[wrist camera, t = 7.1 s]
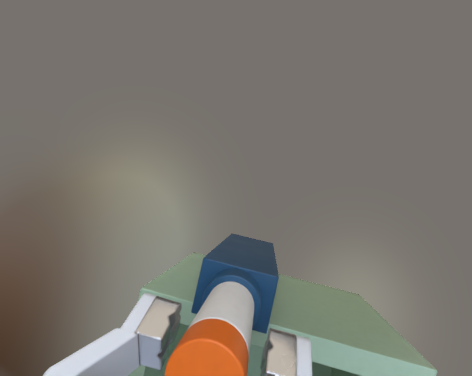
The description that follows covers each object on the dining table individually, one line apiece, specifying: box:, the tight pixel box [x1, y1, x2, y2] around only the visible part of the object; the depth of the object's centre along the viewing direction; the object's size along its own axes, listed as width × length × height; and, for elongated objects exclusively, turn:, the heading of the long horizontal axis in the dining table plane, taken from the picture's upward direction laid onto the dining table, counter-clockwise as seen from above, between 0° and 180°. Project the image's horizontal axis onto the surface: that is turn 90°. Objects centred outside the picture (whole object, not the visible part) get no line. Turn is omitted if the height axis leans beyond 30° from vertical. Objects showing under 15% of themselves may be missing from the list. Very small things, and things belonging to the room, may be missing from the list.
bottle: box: [165, 234, 279, 376], centre depth 18 cm, size 20×4×3 cm, turn 173°
